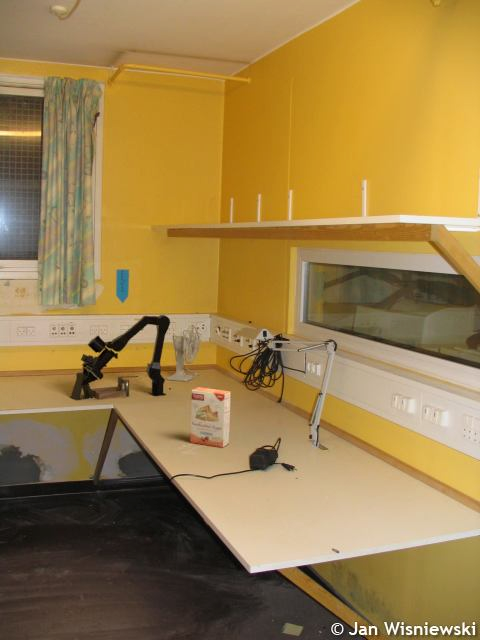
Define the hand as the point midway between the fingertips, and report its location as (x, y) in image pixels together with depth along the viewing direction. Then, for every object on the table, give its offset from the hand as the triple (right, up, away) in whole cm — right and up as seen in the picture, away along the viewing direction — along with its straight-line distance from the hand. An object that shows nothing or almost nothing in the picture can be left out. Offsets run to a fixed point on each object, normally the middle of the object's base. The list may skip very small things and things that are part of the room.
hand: (80, 383), depth 338 cm
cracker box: (+65, -17, -68) cm, 95 cm away
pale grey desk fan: (+44, -2, +60) cm, 74 cm away
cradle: (+12, -7, +7) cm, 16 cm away
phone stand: (+1, -7, +1) cm, 7 cm away
